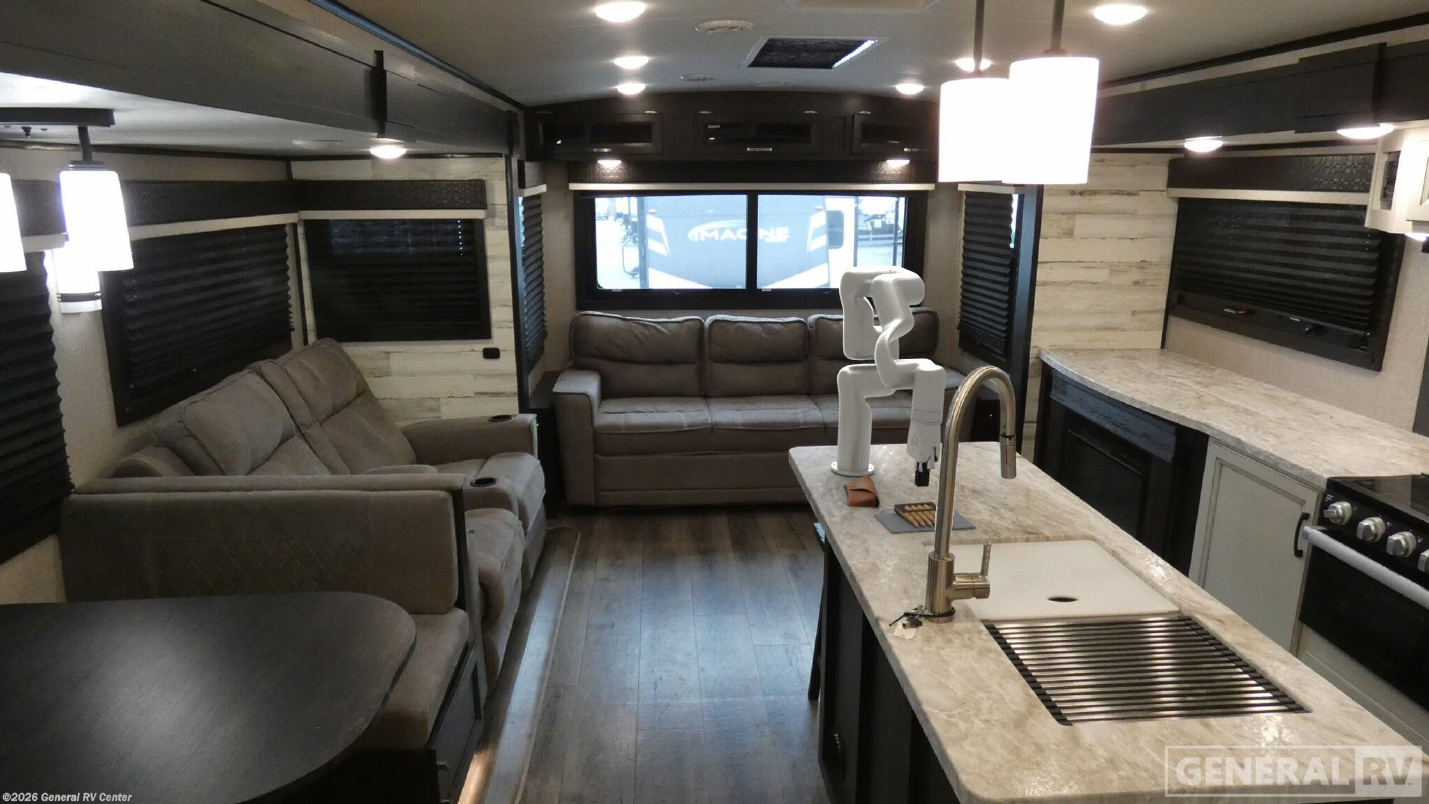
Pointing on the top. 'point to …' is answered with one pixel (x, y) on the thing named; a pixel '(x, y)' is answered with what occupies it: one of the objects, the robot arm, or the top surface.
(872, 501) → the sunglasses case
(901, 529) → the rubber mat
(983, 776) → the top surface
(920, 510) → the ammunition clip
